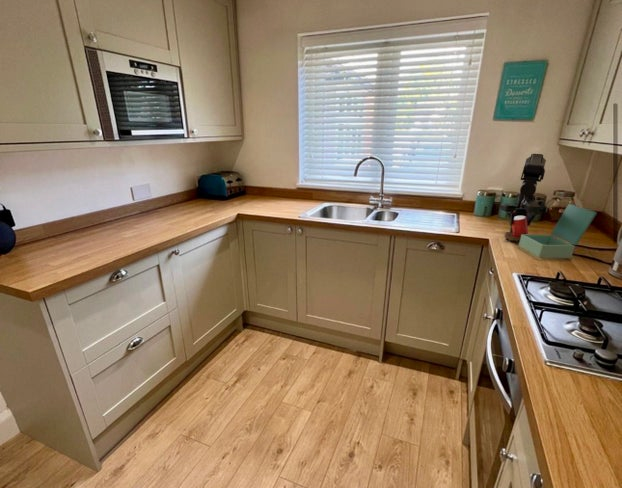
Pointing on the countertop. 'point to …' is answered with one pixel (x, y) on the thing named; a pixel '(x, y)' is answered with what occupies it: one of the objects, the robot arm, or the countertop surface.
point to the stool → (512, 237)
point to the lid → (573, 223)
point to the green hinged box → (546, 246)
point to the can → (520, 225)
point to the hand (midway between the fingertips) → (518, 225)
